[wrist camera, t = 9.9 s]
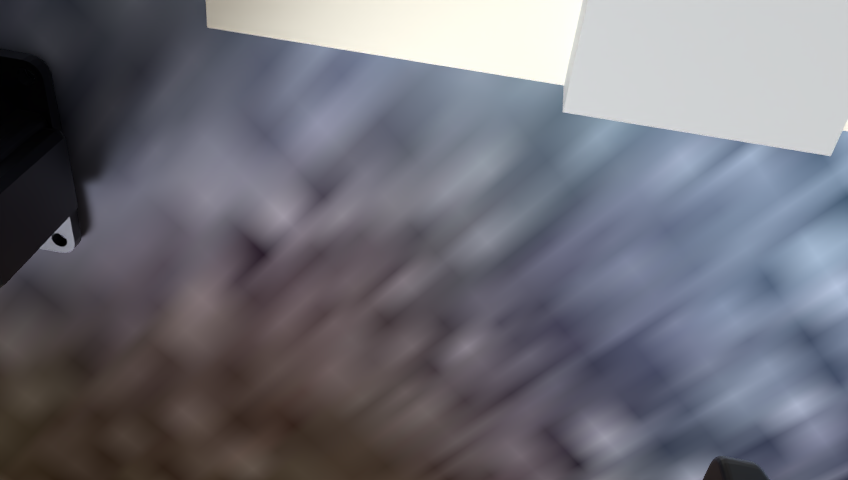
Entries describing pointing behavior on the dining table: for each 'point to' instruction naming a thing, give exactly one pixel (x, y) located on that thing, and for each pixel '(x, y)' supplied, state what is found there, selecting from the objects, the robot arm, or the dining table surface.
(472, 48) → the tile
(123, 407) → the dining table surface
